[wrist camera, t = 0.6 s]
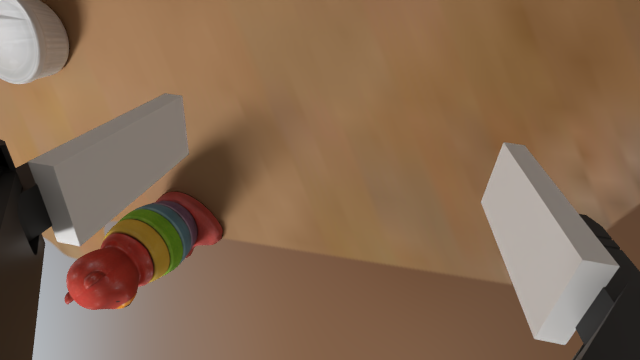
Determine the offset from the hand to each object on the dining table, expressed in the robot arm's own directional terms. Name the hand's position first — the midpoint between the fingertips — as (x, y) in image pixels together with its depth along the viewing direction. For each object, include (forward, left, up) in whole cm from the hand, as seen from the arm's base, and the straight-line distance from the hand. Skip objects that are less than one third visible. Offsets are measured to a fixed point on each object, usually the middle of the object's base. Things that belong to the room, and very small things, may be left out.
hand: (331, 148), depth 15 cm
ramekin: (+7, -47, -26) cm, 54 cm away
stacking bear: (+27, -23, -26) cm, 44 cm away
